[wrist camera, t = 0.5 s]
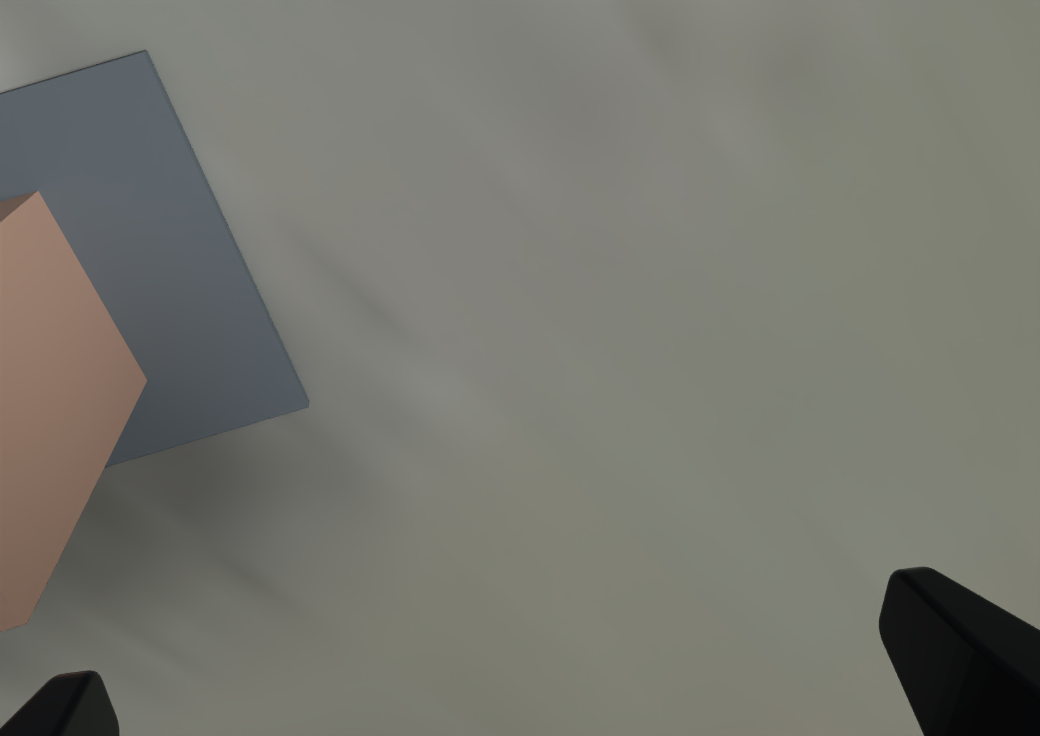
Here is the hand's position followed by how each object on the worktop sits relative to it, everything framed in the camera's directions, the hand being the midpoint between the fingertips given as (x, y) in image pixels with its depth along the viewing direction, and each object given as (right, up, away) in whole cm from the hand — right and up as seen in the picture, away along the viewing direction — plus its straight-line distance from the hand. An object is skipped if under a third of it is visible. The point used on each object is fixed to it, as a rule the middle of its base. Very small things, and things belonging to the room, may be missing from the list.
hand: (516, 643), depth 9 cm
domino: (-11, +5, +10) cm, 15 cm away
